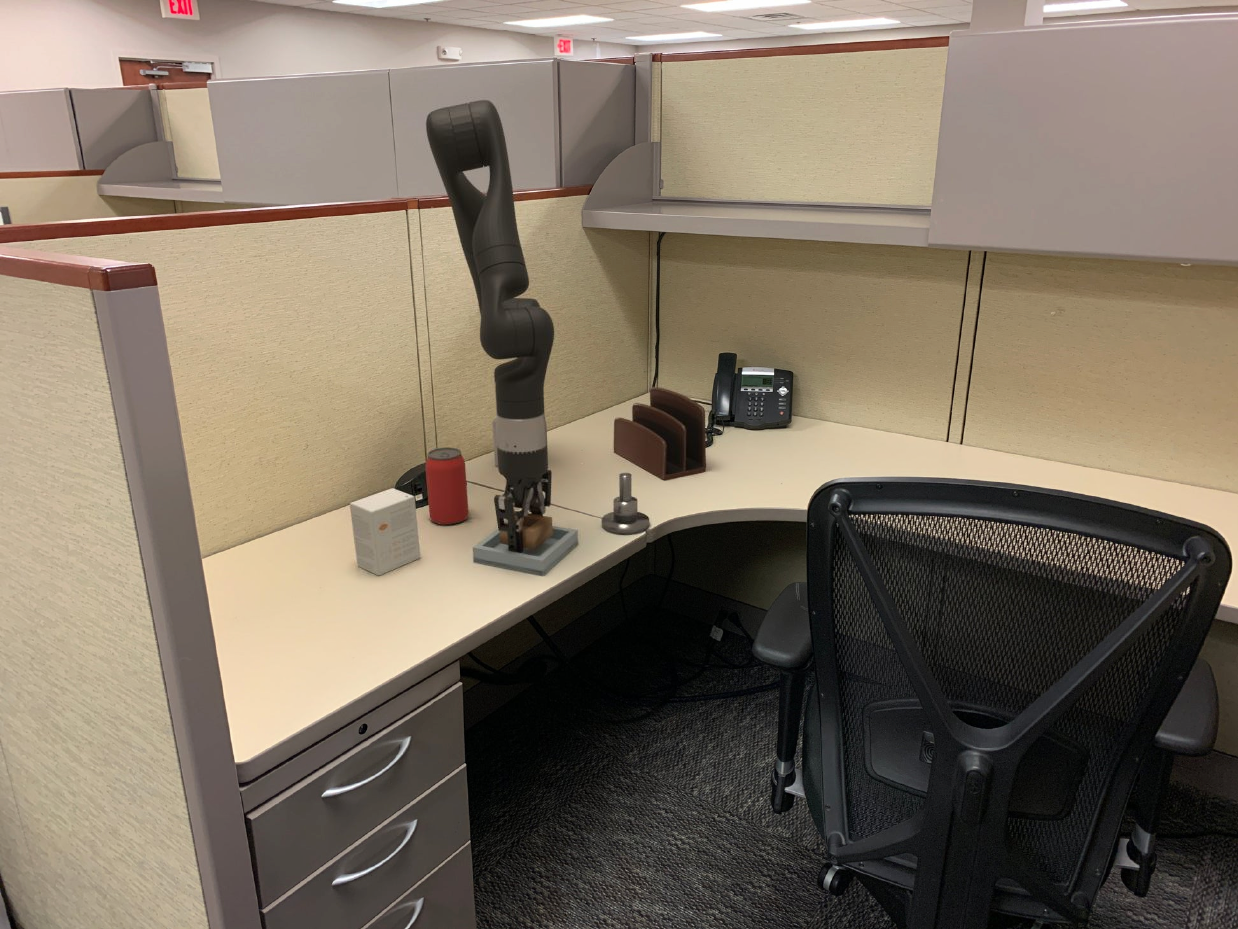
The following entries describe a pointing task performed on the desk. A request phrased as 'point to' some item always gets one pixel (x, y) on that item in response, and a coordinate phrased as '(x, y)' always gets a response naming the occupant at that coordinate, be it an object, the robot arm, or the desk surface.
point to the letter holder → (664, 435)
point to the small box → (385, 531)
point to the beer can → (446, 486)
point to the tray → (526, 552)
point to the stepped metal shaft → (625, 512)
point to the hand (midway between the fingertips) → (526, 543)
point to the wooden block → (532, 531)
